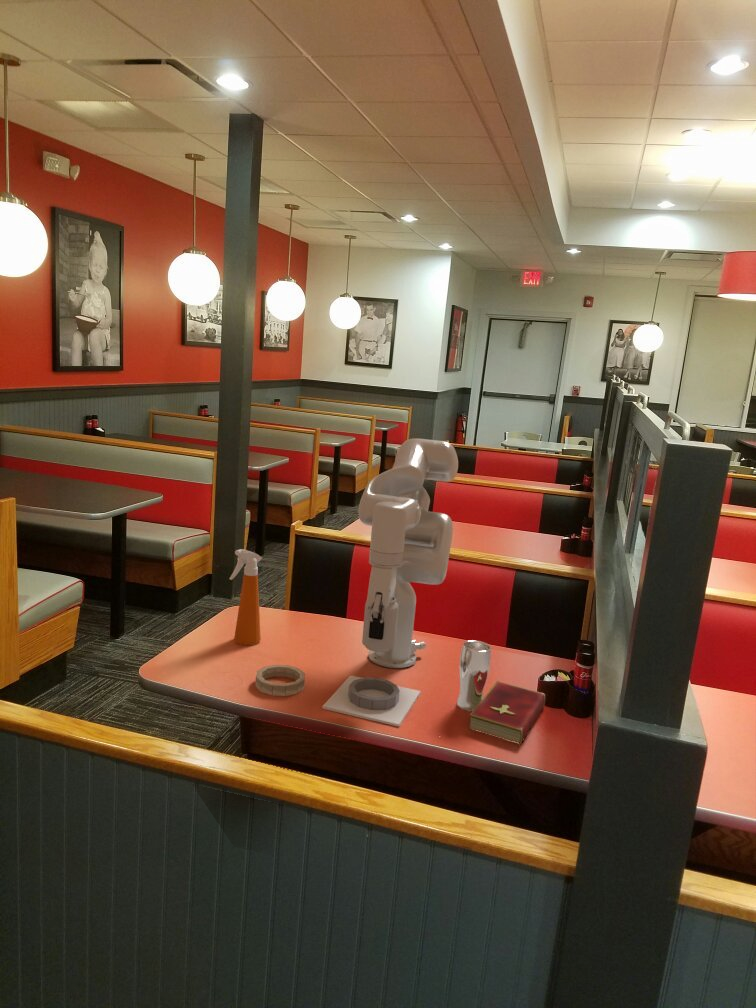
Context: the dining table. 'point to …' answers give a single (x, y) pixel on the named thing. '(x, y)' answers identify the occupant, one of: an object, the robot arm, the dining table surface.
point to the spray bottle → (248, 599)
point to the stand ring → (278, 688)
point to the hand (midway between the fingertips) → (379, 631)
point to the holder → (373, 700)
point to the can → (389, 629)
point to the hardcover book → (507, 711)
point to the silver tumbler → (473, 673)
